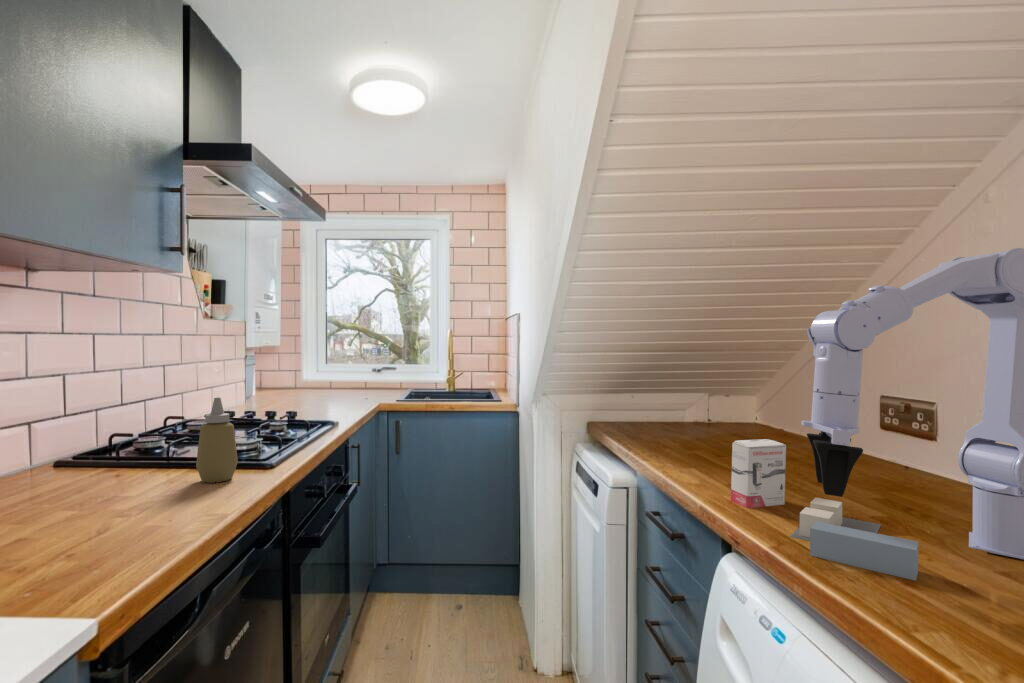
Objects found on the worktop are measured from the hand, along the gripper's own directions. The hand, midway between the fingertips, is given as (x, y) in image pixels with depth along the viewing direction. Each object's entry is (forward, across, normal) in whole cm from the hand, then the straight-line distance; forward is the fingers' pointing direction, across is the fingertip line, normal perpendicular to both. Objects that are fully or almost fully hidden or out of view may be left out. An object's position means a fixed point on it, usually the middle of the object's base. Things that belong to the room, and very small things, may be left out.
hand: (829, 488), depth 75 cm
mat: (+9, -12, +3) cm, 16 cm away
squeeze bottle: (+17, +8, -116) cm, 117 cm away
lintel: (+10, +1, +4) cm, 11 cm away
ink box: (+10, -23, -8) cm, 26 cm away
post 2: (+9, -8, 0) cm, 12 cm away
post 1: (+9, -15, +2) cm, 18 cm away
